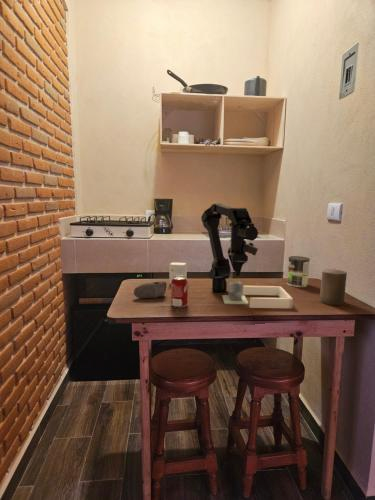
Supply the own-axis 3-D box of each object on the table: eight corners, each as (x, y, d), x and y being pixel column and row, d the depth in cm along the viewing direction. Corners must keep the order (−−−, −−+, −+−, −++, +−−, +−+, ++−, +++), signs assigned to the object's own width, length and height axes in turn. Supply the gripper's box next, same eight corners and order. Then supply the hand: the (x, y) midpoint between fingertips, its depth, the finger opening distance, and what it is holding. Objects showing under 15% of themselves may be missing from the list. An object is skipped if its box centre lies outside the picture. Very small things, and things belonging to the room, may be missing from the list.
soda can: (181, 309, 125) (181, 280, 123) (167, 306, 128) (167, 278, 126) (190, 304, 131) (190, 276, 129) (177, 301, 134) (177, 274, 132)
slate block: (229, 300, 135) (230, 284, 133) (228, 297, 139) (229, 281, 138) (241, 300, 134) (242, 285, 133) (239, 297, 139) (240, 281, 138)
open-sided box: (250, 307, 128) (250, 298, 127) (242, 294, 146) (243, 285, 145) (292, 308, 128) (293, 299, 127) (280, 294, 146) (280, 286, 145)
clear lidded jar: (292, 287, 158) (293, 260, 155) (283, 282, 168) (285, 256, 165) (311, 287, 159) (313, 259, 156) (302, 281, 169) (303, 255, 166)
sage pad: (224, 303, 132) (224, 302, 132) (222, 296, 142) (222, 295, 142) (248, 304, 132) (248, 302, 132) (244, 296, 142) (244, 295, 142)
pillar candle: (345, 306, 130) (348, 271, 128) (319, 303, 134) (322, 269, 131) (342, 300, 139) (345, 267, 137) (318, 297, 143) (321, 265, 140)
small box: (186, 282, 165) (186, 262, 163) (184, 285, 160) (184, 265, 158) (171, 281, 167) (172, 261, 165) (169, 284, 161) (169, 264, 159)
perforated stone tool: (134, 300, 135) (134, 285, 134) (133, 297, 140) (132, 282, 139) (168, 298, 139) (168, 283, 138) (166, 294, 144) (166, 280, 143)
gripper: (261, 240, 123) (259, 279, 126) (252, 235, 142) (251, 268, 144) (233, 240, 124) (231, 279, 126) (228, 234, 142) (226, 268, 145)
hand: (236, 273), depth 135 cm, fingers open, 9 cm apart
